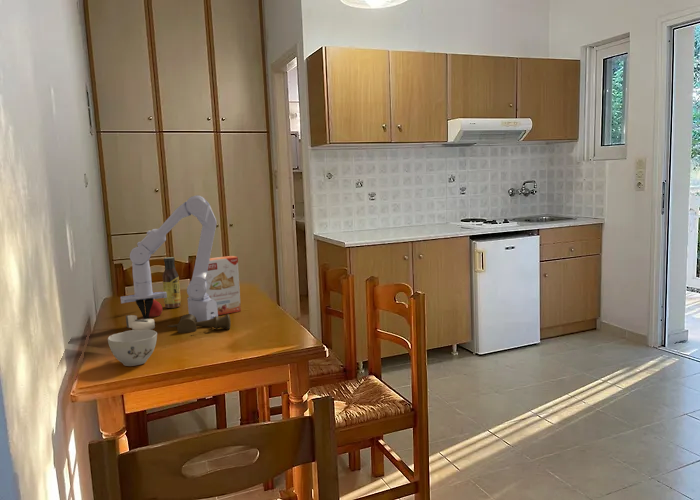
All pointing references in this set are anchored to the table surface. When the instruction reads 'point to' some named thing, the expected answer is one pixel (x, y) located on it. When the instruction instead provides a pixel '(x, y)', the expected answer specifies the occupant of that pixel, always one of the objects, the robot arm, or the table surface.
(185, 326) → the kendama
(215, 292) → the cracker box
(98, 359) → the table surface
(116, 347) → the white floral bowl
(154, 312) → the onion
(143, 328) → the miniature toilet
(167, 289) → the sauce bottle
